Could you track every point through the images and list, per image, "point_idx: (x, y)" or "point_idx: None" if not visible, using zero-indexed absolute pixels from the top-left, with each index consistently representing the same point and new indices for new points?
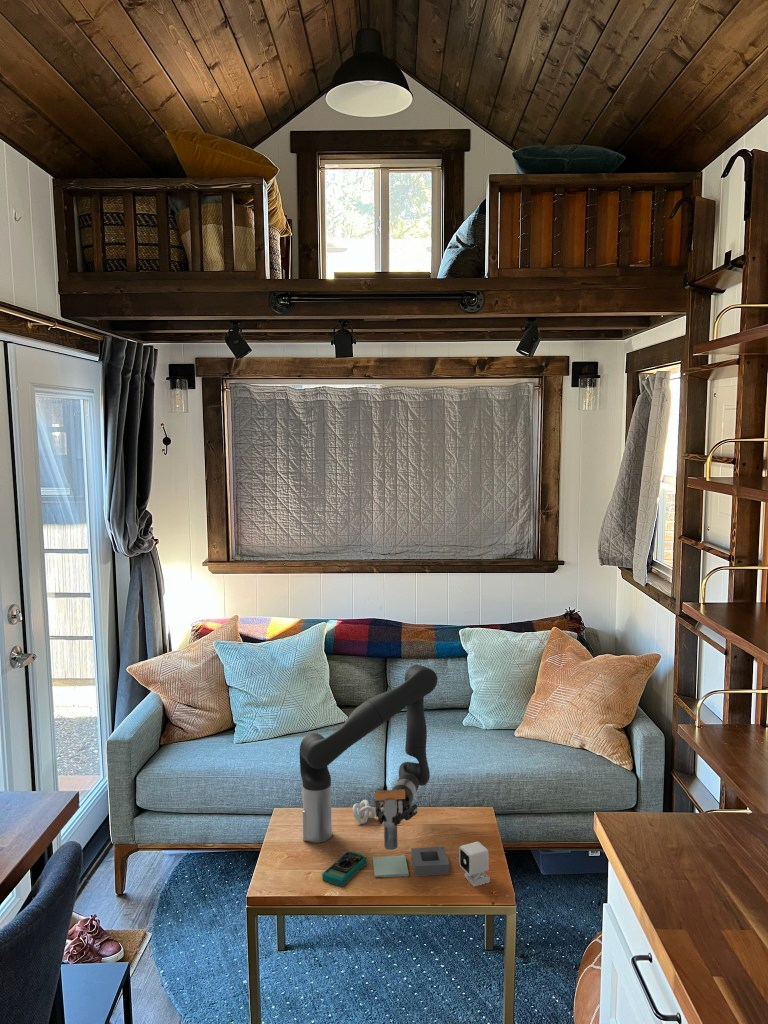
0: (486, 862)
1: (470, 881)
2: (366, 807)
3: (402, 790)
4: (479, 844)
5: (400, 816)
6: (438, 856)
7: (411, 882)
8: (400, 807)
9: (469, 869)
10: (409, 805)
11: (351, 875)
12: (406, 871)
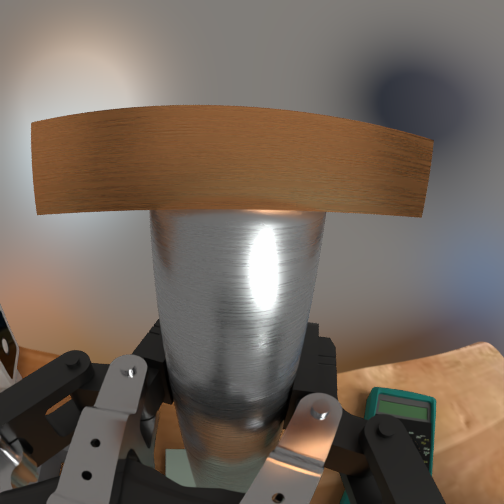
0: None
1: None
2: None
3: (69, 118)
4: None
5: (144, 344)
6: (41, 470)
7: (163, 423)
8: (106, 412)
9: (13, 337)
10: (3, 494)
11: None
12: (172, 461)
